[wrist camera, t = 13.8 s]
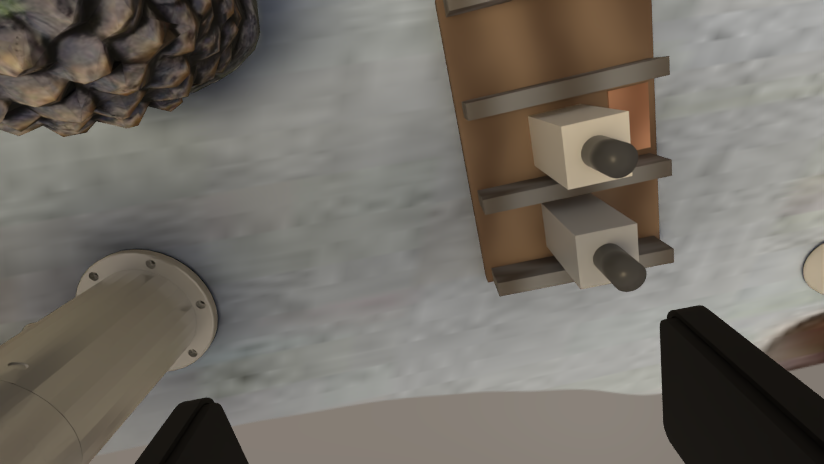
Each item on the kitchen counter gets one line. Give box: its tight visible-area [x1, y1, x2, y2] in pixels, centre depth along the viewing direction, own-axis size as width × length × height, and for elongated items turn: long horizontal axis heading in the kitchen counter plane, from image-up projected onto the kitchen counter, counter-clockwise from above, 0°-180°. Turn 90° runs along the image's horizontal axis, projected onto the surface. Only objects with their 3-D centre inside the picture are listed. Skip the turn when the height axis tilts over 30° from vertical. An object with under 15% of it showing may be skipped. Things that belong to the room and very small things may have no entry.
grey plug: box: [541, 193, 646, 292], centre depth 31 cm, size 4×4×11 cm
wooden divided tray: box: [435, 0, 674, 296], centre depth 33 cm, size 15×23×4 cm, turn 13°
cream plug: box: [528, 104, 638, 190], centre depth 28 cm, size 4×4×11 cm
